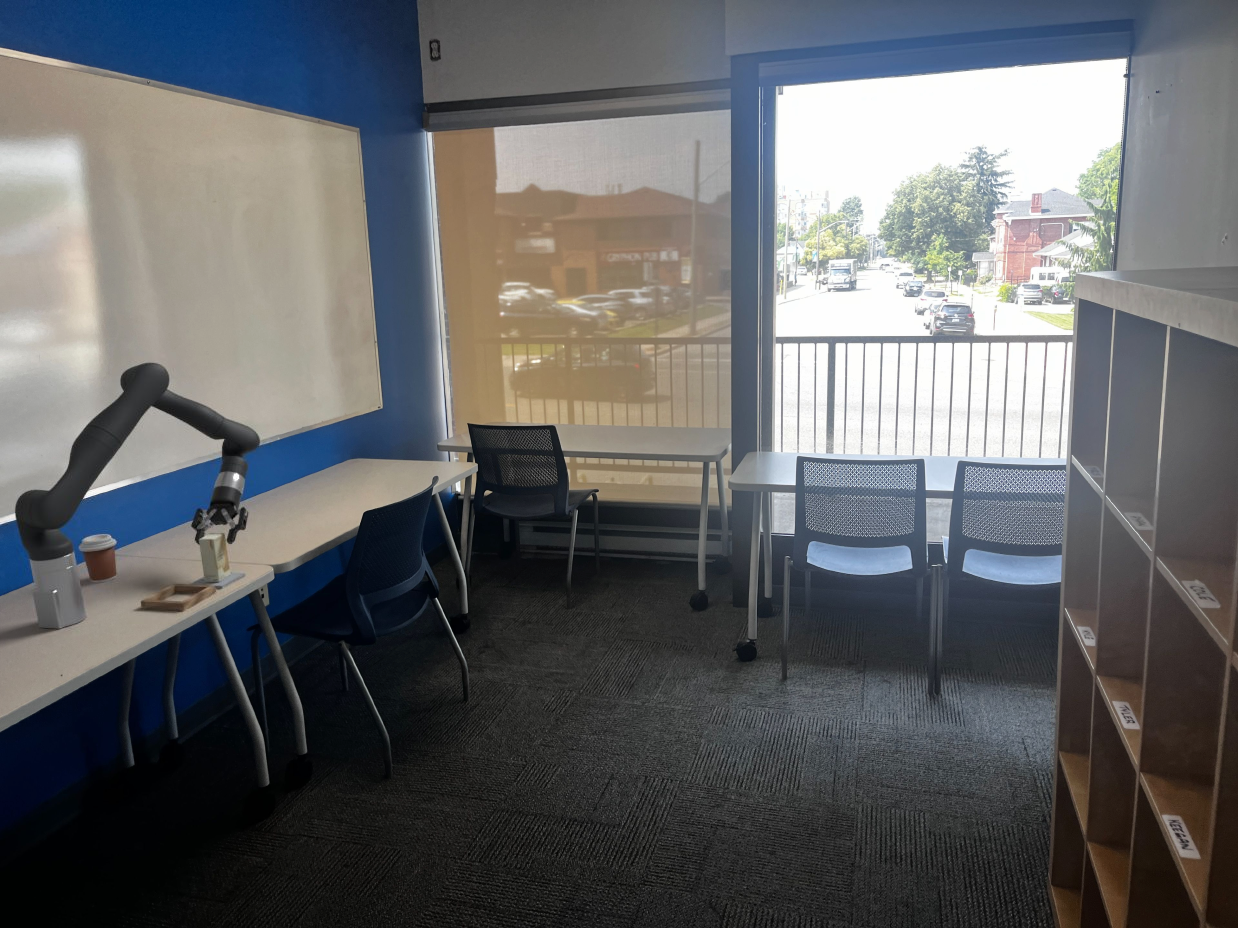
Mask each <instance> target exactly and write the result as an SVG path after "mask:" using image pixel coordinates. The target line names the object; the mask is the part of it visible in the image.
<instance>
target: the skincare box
mask: <svg viewBox="0 0 1238 928" xmlns="http://www.w3.org/2000/svg"><path fill="white" fill-rule="evenodd" d="M199 544H200V545H199V549H200V557H201V562H202V563H201V564H202V570H203V577H204V579H205V582H220V581H221V580H223V579H225V578H226V577H228V576H229V575H230V572H231V570H230V562H229V555H228V549H227V548H228V547H227V538H226V533H225V532H211V533H210V532H209V533H208V534H205V535H204V537H203V538H201V539H199Z"/></svg>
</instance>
